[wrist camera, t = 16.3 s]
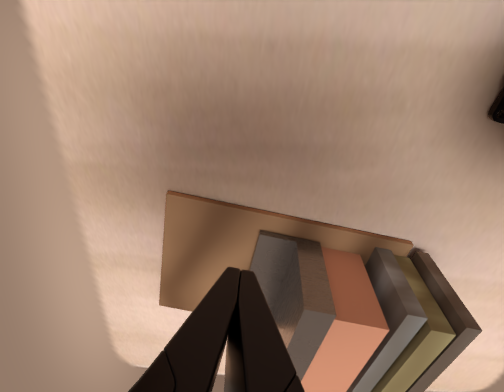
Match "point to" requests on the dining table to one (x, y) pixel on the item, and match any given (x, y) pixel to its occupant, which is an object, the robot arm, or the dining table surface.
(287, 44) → the dining table surface
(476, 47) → the dining table surface
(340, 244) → the shelf
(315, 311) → the bookend
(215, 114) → the dining table surface
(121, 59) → the dining table surface
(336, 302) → the terracotta rectangular block
